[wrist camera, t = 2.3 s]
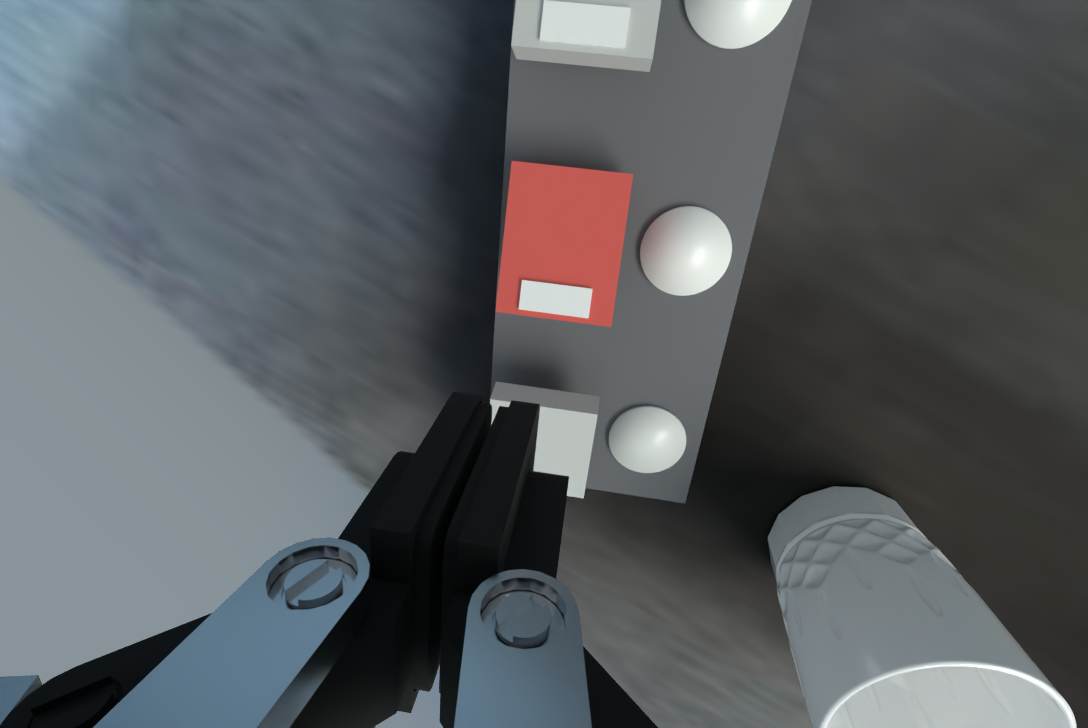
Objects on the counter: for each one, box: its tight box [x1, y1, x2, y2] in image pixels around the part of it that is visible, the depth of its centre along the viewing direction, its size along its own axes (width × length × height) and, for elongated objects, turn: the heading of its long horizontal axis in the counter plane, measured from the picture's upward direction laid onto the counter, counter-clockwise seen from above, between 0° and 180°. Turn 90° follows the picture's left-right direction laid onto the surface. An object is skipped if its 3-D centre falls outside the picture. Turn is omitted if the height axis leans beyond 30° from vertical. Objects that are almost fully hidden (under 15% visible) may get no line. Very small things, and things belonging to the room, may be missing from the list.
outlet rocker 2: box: [495, 161, 633, 327], centre depth 19 cm, size 5×4×1 cm
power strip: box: [490, 0, 812, 503], centre depth 20 cm, size 26×9×4 cm, turn 175°
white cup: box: [768, 486, 1077, 728], centre depth 23 cm, size 8×8×10 cm
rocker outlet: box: [490, 382, 600, 498], centre depth 22 cm, size 5×4×1 cm
